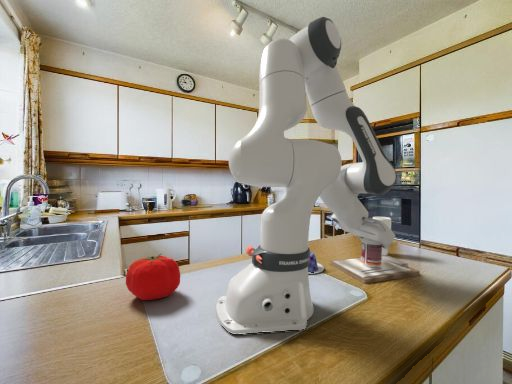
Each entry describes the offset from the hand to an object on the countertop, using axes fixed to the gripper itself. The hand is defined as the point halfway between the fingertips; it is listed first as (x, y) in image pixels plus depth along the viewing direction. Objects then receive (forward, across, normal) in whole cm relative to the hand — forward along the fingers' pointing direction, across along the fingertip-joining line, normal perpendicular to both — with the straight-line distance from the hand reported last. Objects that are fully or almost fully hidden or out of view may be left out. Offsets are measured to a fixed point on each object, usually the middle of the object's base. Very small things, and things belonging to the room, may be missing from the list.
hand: (375, 243), depth 79 cm
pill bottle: (+4, 0, +6) cm, 8 cm away
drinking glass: (+17, +12, -4) cm, 22 cm away
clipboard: (+6, 0, +7) cm, 9 cm away
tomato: (-42, +2, +55) cm, 69 cm away
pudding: (-9, +8, +22) cm, 25 cm away
